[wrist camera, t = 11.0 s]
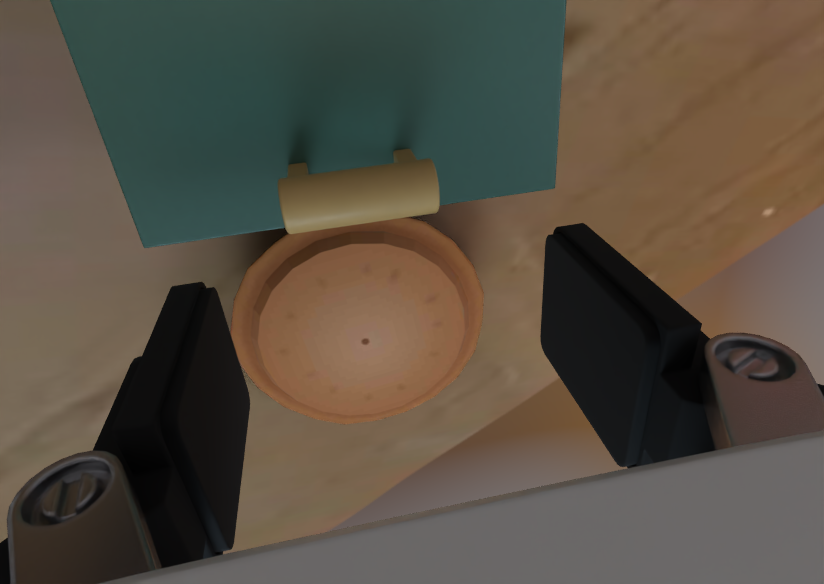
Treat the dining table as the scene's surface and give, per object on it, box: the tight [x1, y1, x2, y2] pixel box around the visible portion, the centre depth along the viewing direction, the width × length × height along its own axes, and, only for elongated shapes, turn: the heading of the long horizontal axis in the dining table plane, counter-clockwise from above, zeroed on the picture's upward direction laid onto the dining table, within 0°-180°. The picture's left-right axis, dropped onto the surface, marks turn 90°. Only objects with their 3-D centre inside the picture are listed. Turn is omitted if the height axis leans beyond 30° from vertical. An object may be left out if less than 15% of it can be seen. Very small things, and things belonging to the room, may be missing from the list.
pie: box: [231, 217, 484, 424], centre depth 34 cm, size 16×16×5 cm
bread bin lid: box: [50, 0, 566, 248], centre depth 16 cm, size 15×17×5 cm
